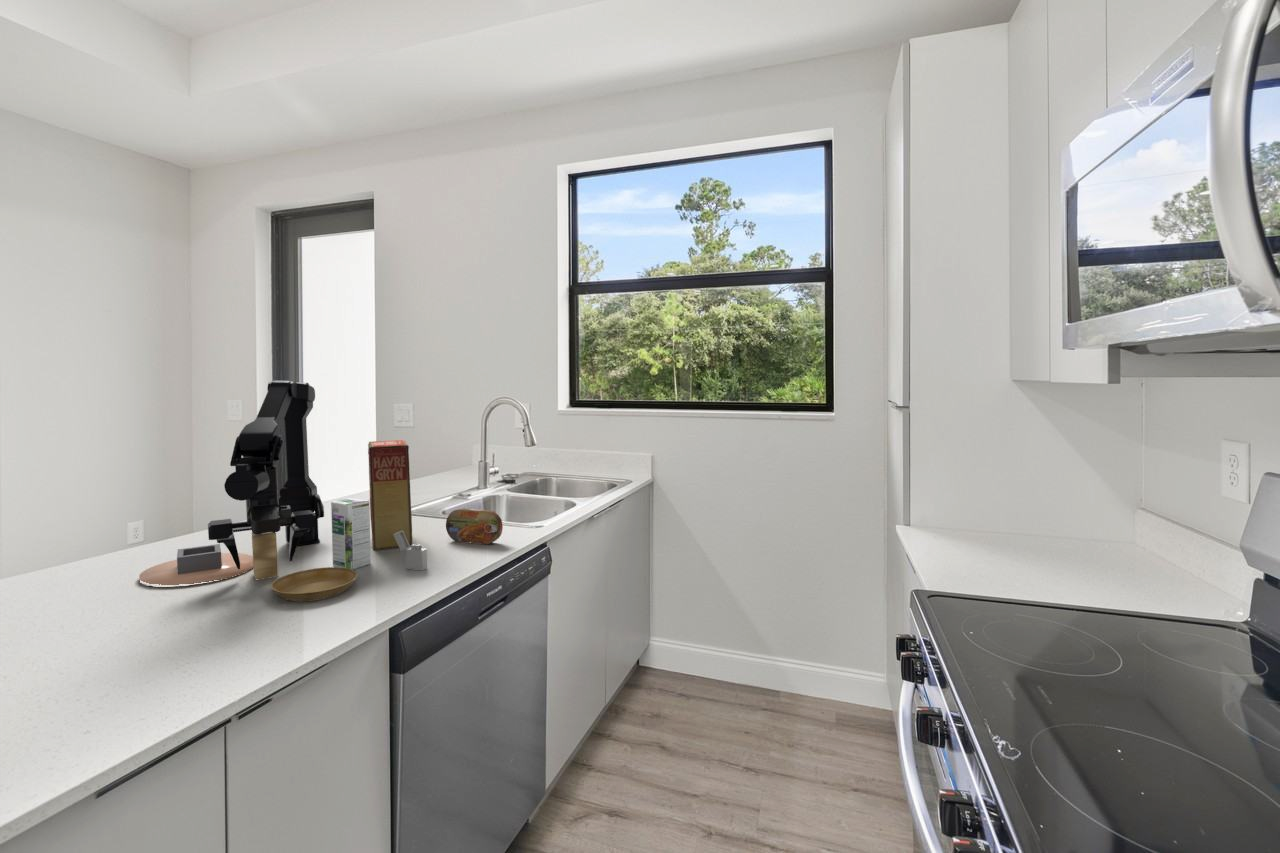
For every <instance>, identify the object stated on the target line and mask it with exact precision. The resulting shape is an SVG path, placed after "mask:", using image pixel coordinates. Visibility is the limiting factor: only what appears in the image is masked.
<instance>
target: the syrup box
mask: <svg viewBox="0 0 1280 853" xmlns="http://www.w3.org/2000/svg"><path fill="white" fill-rule="evenodd" d="M330 511H331V512H330V513H331V542H332V543H331V544H332V548H331V550H332V551H331V552H332V567H339V568H347V569H351V570H356V569H359V568H362V567H364V566H365V567H366V566H368V565H370V564H371V563H372V561H371V560H372V556H371V550H372V549H371V548H372V547H371V516H370V499H369V500H365V499H358V498H353V497H352V498H351V497H350V498H342V499H336V500H334V501H331V509H330Z"/></svg>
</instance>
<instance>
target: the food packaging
mask: <svg viewBox="0 0 1280 853" xmlns="http://www.w3.org/2000/svg"><path fill="white" fill-rule="evenodd" d="M367 446H368V448H367V450H368V451H367V452H368V478H369V479H368V480H369V501H370V530H371V541H372V542H371V544H372V550H373V551H379V550H380V551H382V550H390V549H399V546H398V544H397V542H396V540H395V537H394V534H395V533H397V532H399V531H402V530H403V532H404V534H405V536H406V538H407V541H408V543H409V545H410V547H411V545H412V544H413V518H412V516H413V515H412V502H411V501H412V500H411V499H412V498H411V478H410V476H411V475H410V457H409V456H410V455H409V452H410V451H409V450H410V449H409V448H410V447H409V445H408V443H407V442H406V441H405V440H404V439H402V440H400V439H399V440H394V439H393V440H375V441H374V440H373V441H368V444H367Z"/></svg>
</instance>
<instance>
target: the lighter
mask: <svg viewBox="0 0 1280 853" xmlns="http://www.w3.org/2000/svg"><path fill="white" fill-rule="evenodd" d="M394 537H395V540H396V542H397V544H398V546H399V548H398V549H399V551H400V552H403V551H405V556H406V557H405V558H406V559H405V560H406V569H407V570H414V571H415V570H416V571H424V570H427V569H428V556H427V554H428V551H427V550H428V549H427V548H423V546H422V544H419V543H412V545H411V546H410V545H409V543H408V541H407V538H406V536H405V534H404V532H403V530H402V531H399V532H397V533H395V534H394Z"/></svg>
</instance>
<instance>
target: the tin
mask: <svg viewBox="0 0 1280 853" xmlns="http://www.w3.org/2000/svg"><path fill="white" fill-rule="evenodd" d="M445 529H446V532H447V535H448V536H449V538H450V539H451V540H453V541H454V542H456V541H457V542H456V543H461V542H471V543H470V544H473V543H481V544H480V545H484V544H486V545H490V544H492V543H493V542H496V541H498V539H499V538H500V537H501V535H502V533H503V529H504V528H503V521H502V518H501V517H500V515H499V514H498V513H497V512H495V511H493V510H491V509H490V510H489V509H476V508H475V509H474V508H473V509H472V508H459V509H455V510H453V511H451V512H450V513H449V515H448V516H447V518H446V521H445Z"/></svg>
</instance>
